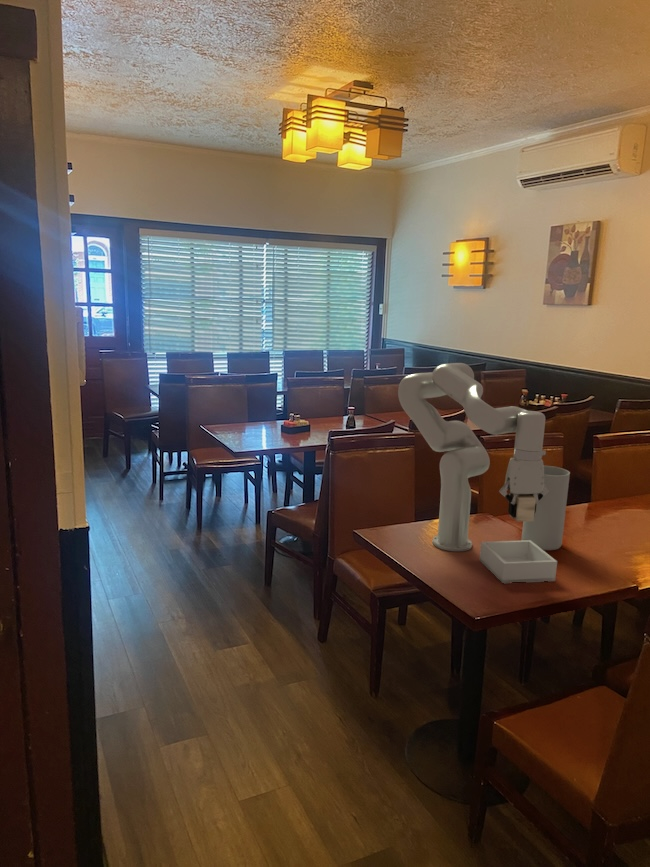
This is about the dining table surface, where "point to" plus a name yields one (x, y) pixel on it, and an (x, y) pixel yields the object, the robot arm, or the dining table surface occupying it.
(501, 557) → the bin
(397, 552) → the dining table surface
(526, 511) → the birch block
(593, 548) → the dining table surface
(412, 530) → the dining table surface
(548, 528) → the cylinder vase
